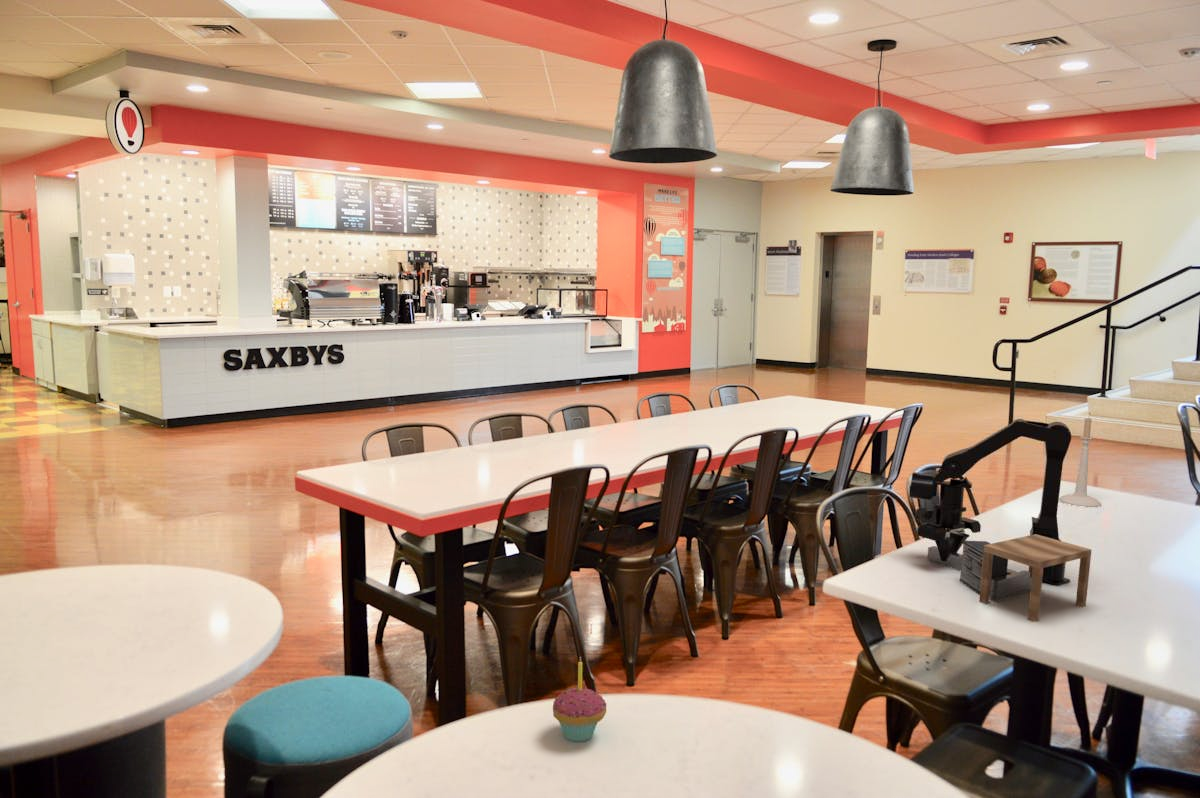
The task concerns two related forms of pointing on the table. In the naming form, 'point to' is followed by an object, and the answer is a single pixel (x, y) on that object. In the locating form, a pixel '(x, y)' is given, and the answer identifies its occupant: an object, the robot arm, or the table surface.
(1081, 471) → the candlestick
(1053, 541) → the small wooden table
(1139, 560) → the table surface
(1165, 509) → the table surface
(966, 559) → the small box
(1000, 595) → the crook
